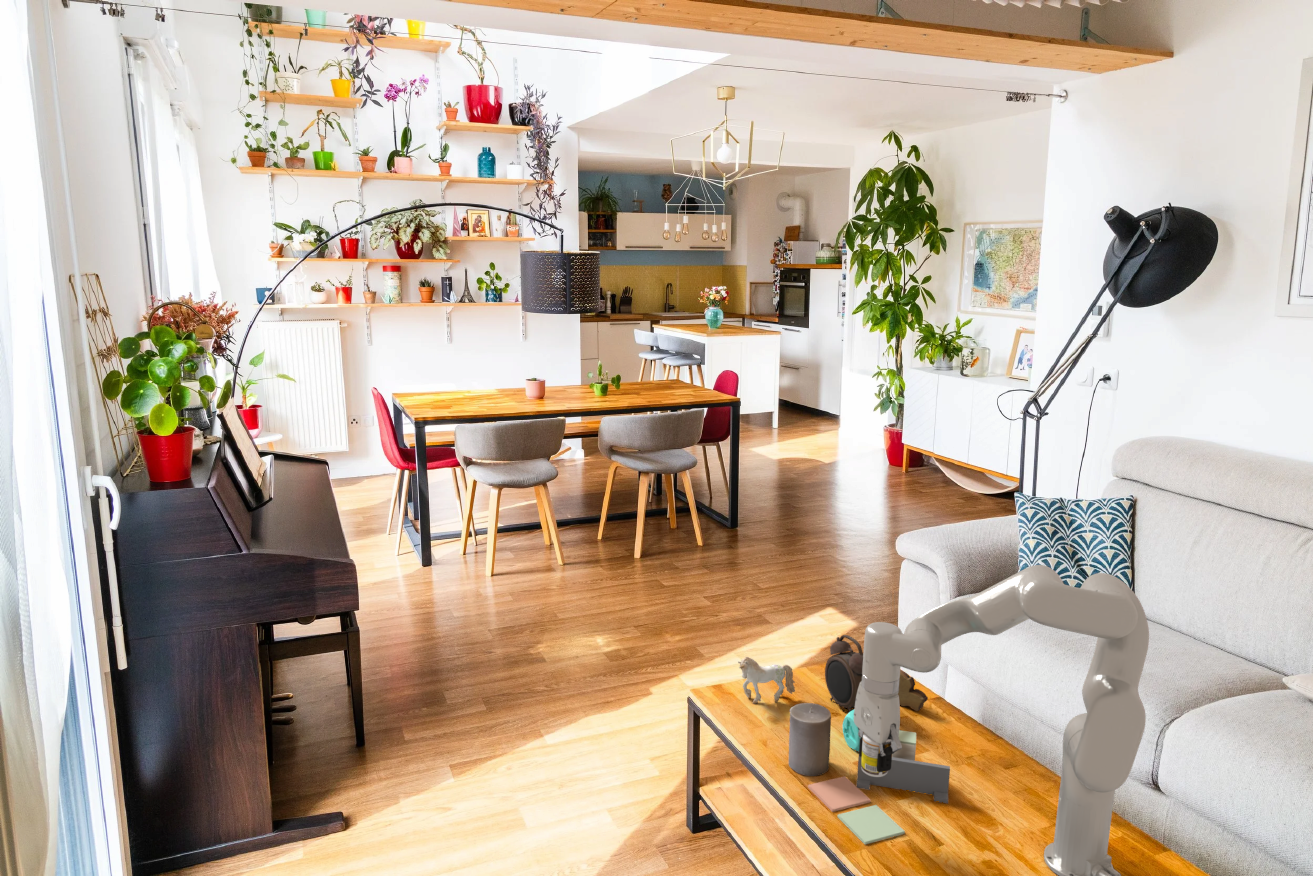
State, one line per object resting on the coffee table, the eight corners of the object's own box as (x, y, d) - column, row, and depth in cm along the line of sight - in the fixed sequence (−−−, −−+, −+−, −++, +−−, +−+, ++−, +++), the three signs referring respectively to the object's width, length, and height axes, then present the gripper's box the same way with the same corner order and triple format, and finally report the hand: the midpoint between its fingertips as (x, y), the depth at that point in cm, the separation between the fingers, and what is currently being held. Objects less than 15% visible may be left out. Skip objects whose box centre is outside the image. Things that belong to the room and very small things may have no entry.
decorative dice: (857, 756, 216) (859, 725, 214) (841, 739, 223) (842, 710, 222) (886, 751, 218) (888, 721, 217) (868, 734, 226) (870, 705, 224)
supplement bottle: (882, 763, 189) (885, 719, 187) (891, 777, 184) (895, 732, 182) (857, 764, 189) (859, 720, 187) (865, 779, 183) (868, 734, 181)
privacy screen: (947, 788, 203) (949, 760, 201) (947, 803, 197) (950, 774, 196) (857, 773, 208) (859, 746, 207) (856, 787, 202) (858, 759, 201)
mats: (904, 833, 186) (904, 831, 186) (864, 844, 182) (865, 842, 182) (844, 778, 206) (844, 776, 206) (807, 787, 202) (807, 785, 202)
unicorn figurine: (723, 702, 241) (724, 657, 239) (781, 688, 250) (783, 643, 248) (737, 714, 235) (739, 667, 233) (796, 699, 244) (799, 653, 242)
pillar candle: (830, 758, 215) (833, 700, 212) (827, 779, 205) (829, 719, 203) (790, 752, 217) (792, 695, 215) (785, 773, 208) (787, 714, 205)
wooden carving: (930, 711, 238) (933, 677, 236) (921, 717, 235) (924, 682, 233) (877, 690, 250) (879, 657, 248) (868, 695, 247) (870, 662, 245)
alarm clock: (819, 698, 245) (822, 630, 241) (840, 693, 248) (844, 626, 244) (851, 722, 232) (856, 651, 228) (873, 717, 235) (878, 646, 231)
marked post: (913, 771, 209) (916, 732, 207) (913, 783, 205) (916, 743, 203) (891, 768, 211) (894, 729, 209) (890, 779, 206) (893, 740, 204)
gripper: (841, 668, 189) (836, 745, 192) (890, 704, 173) (884, 788, 177) (870, 663, 192) (865, 739, 195) (922, 698, 176) (915, 781, 180)
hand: (874, 762), depth 186 cm, fingers closed on supplement bottle, 5 cm apart
